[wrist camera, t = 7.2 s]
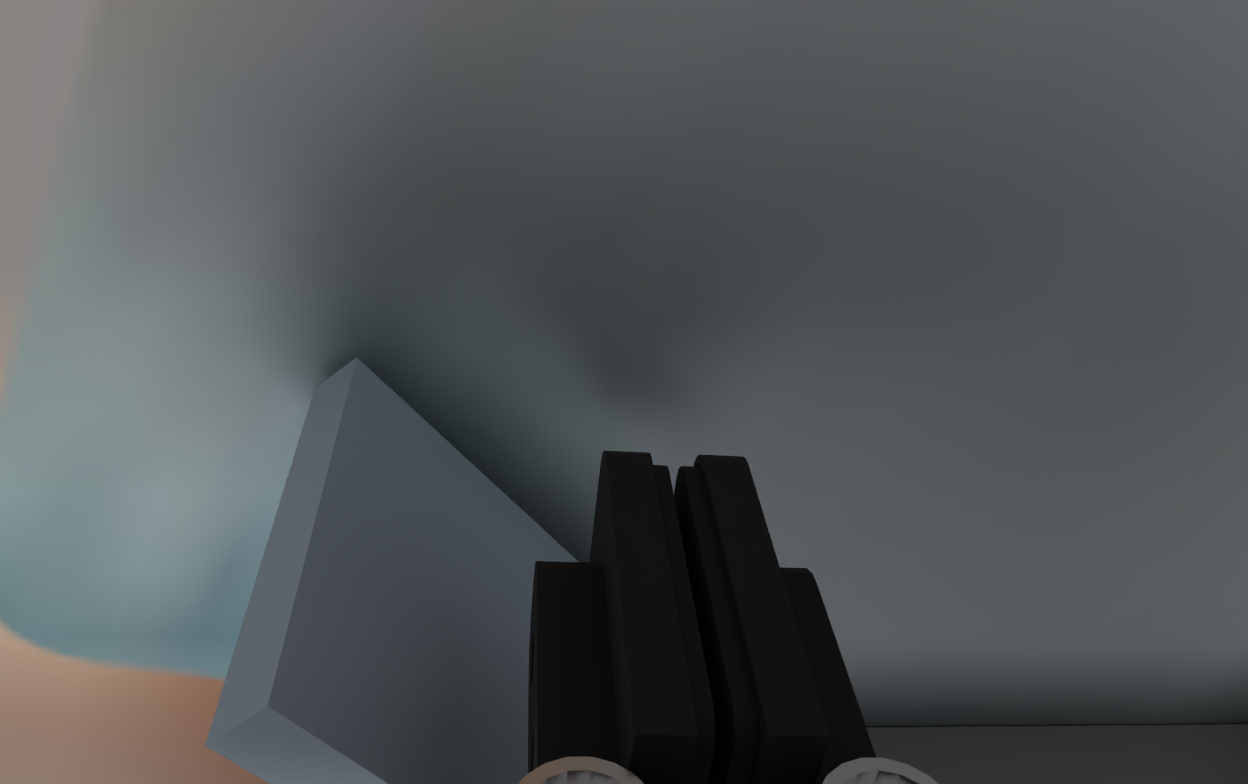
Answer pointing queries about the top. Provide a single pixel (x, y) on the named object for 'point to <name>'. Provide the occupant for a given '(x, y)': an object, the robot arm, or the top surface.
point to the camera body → (1070, 753)
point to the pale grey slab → (384, 609)
